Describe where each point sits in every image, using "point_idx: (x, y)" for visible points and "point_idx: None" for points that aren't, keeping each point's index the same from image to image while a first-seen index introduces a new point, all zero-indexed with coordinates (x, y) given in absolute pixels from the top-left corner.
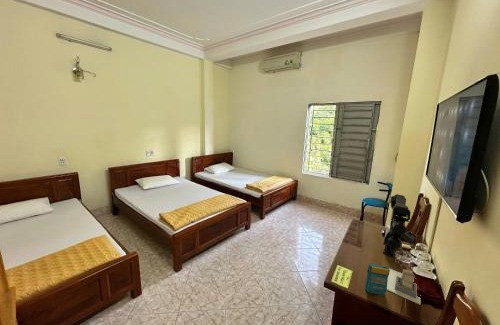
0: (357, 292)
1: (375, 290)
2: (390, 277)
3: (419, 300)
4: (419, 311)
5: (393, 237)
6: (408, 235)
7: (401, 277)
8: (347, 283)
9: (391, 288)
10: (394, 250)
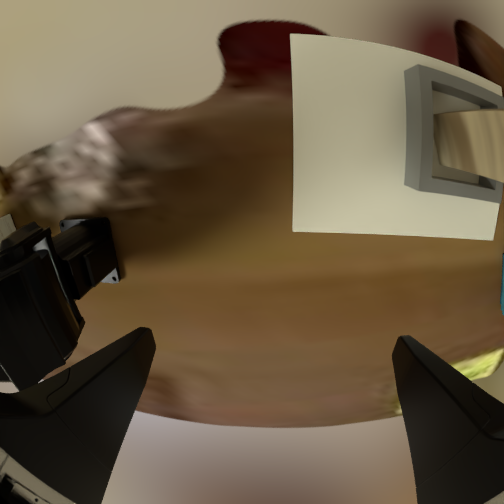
0: None
1: None
2: (401, 217)
3: (486, 83)
4: None
5: (87, 468)
6: None
7: (476, 173)
8: (488, 356)
9: (485, 211)
10: (459, 381)
